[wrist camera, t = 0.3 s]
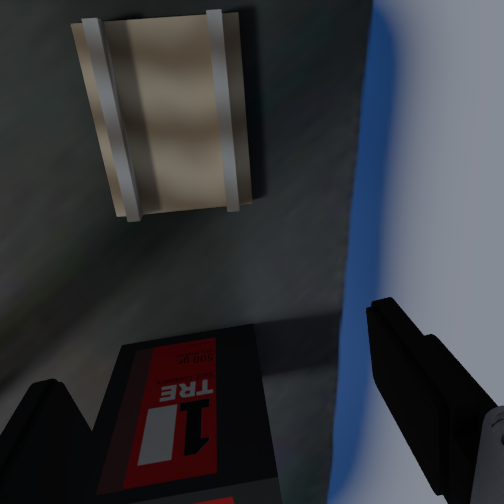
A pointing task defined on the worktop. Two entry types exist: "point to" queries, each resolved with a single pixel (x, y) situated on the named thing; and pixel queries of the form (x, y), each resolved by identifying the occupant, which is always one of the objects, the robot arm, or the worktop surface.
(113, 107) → the pipe cradle
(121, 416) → the cleaning product box
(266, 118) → the worktop surface
